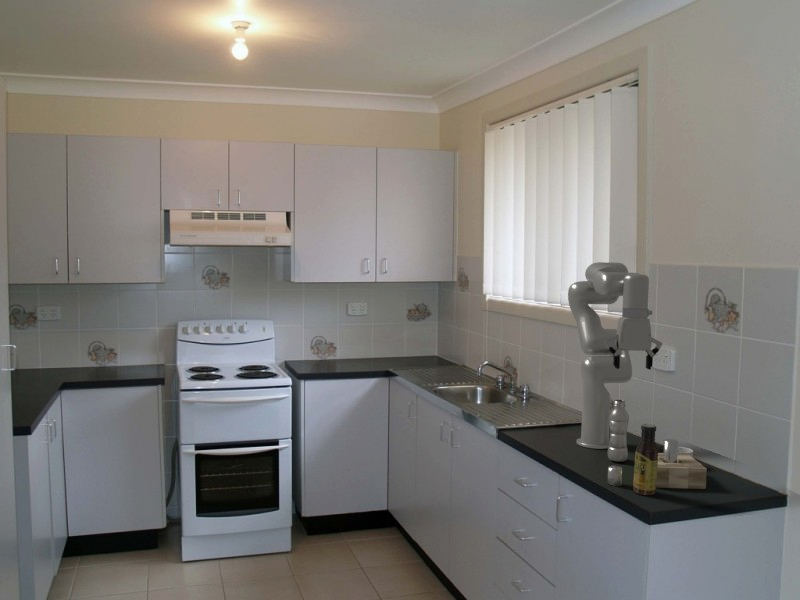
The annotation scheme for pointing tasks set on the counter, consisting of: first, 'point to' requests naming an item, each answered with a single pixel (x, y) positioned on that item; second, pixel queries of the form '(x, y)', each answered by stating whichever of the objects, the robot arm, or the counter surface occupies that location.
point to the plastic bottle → (618, 432)
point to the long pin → (670, 451)
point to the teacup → (685, 451)
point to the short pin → (614, 475)
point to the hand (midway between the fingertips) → (632, 368)
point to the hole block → (681, 473)
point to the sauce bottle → (646, 462)
